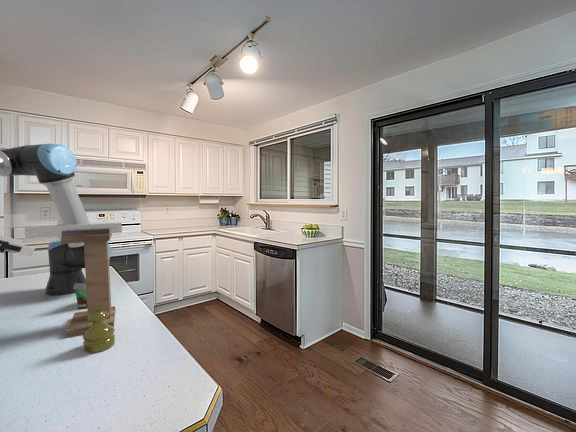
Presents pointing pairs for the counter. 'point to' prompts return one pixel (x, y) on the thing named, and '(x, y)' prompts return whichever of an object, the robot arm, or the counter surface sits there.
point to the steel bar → (69, 229)
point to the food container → (81, 295)
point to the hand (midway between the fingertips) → (26, 248)
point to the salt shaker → (98, 333)
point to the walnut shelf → (92, 277)
